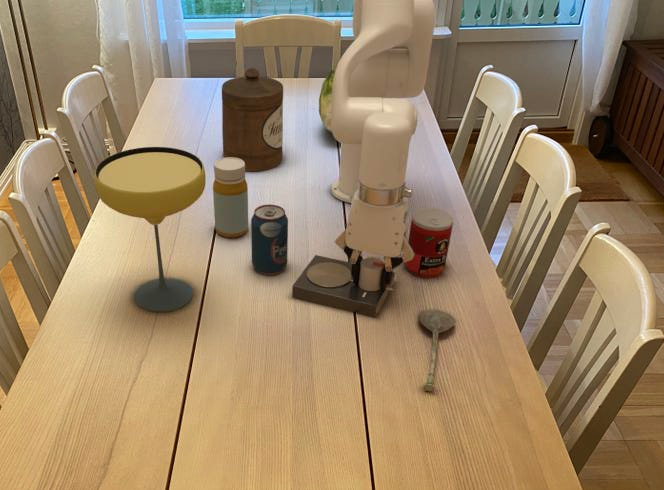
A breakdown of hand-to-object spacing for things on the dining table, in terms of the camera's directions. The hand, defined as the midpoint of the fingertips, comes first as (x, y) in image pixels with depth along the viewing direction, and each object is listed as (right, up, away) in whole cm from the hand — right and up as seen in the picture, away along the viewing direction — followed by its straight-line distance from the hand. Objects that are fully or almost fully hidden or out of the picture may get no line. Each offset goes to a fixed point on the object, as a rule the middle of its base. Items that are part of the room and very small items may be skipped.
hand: (370, 281), depth 131 cm
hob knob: (0, 0, 0) cm, 1 cm away
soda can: (-18, +4, +10) cm, 21 cm away
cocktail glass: (-38, -2, +2) cm, 38 cm away
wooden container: (-23, +36, +49) cm, 65 cm away
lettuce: (+4, +46, +62) cm, 77 cm away
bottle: (-26, +13, +21) cm, 36 cm away
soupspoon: (+9, -13, -10) cm, 19 cm away
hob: (-5, -1, +4) cm, 6 cm away
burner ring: (-7, +2, +3) cm, 8 cm away
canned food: (+12, +4, +10) cm, 16 cm away
